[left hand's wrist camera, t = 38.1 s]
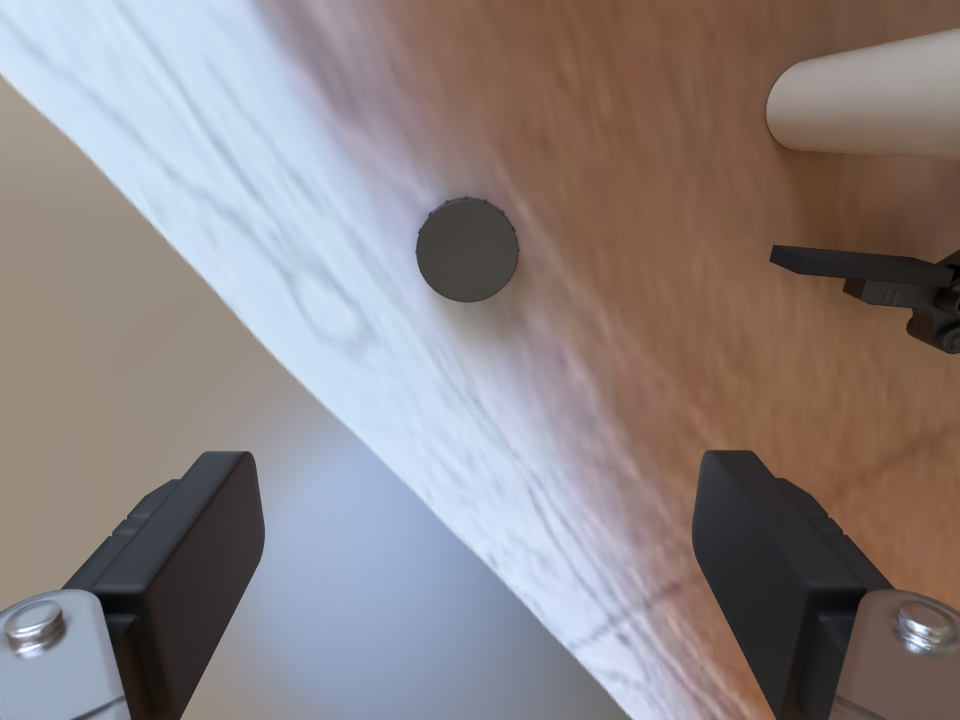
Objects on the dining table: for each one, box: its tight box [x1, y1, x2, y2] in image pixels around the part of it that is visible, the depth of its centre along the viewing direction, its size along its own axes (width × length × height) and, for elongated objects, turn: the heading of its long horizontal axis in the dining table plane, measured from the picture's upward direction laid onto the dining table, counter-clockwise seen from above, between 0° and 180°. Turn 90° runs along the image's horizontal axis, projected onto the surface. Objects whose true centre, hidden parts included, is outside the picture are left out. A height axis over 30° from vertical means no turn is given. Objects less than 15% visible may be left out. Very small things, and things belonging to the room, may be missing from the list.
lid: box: [416, 196, 519, 302], centre depth 33 cm, size 5×5×2 cm
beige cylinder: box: [766, 28, 960, 161], centre depth 23 cm, size 4×4×18 cm
